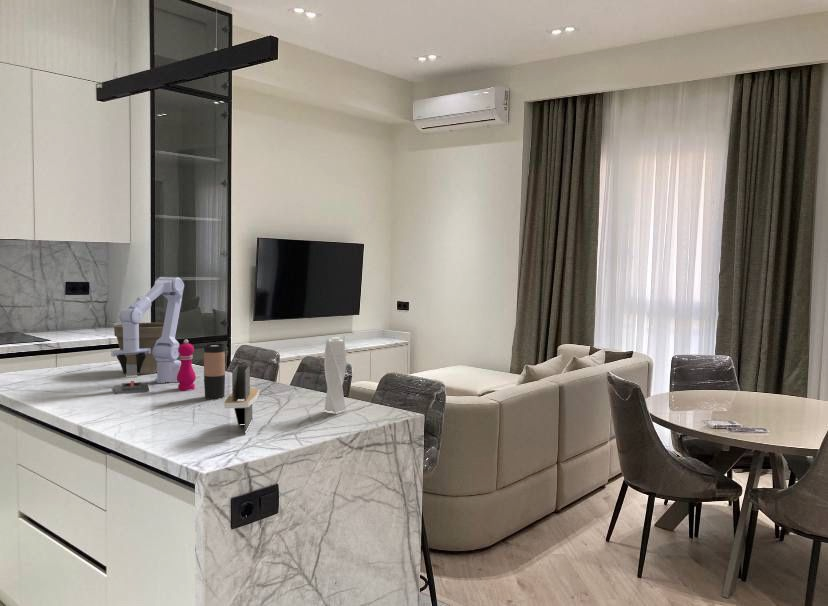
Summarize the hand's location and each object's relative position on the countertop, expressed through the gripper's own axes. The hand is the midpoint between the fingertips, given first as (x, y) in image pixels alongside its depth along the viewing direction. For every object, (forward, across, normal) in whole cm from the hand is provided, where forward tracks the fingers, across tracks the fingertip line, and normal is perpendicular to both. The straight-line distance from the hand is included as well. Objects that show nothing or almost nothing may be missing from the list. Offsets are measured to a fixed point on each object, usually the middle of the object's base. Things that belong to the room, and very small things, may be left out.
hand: (131, 373), depth 264 cm
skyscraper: (+7, -44, +78) cm, 90 cm away
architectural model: (+7, -10, +78) cm, 79 cm away
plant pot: (+7, -17, -38) cm, 42 cm away
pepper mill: (+7, -18, +10) cm, 22 cm away
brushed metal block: (+2, 0, 0) cm, 2 cm away
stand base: (+7, 0, 0) cm, 7 cm away
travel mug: (+7, -21, +31) cm, 38 cm away
